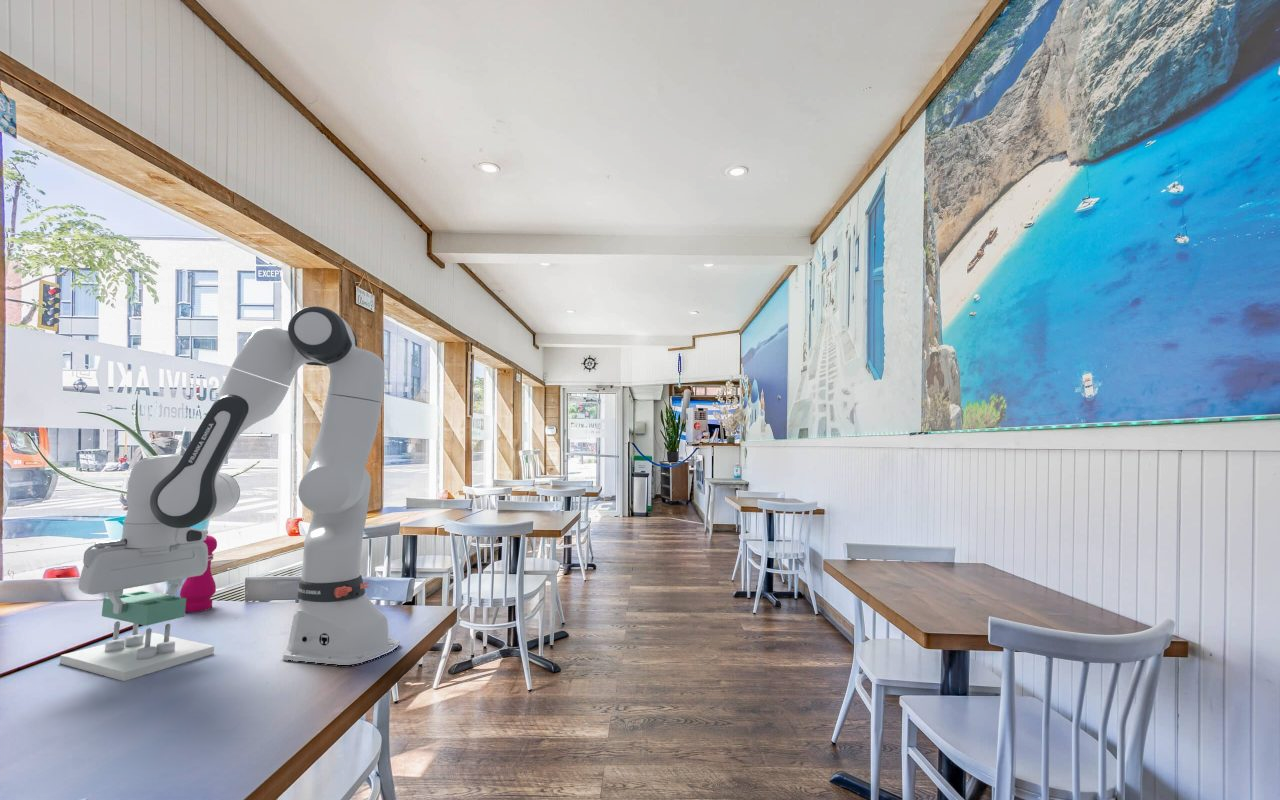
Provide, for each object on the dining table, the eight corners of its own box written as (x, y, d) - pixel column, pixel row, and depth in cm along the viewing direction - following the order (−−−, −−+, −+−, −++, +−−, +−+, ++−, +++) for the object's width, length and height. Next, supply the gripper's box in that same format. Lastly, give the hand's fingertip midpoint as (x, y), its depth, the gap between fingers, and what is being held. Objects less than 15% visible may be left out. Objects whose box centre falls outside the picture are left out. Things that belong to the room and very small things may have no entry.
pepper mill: (194, 614, 140) (202, 531, 141) (170, 611, 141) (178, 530, 143) (221, 606, 147) (228, 528, 149) (198, 604, 148) (205, 526, 150)
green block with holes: (184, 616, 112) (186, 598, 112) (146, 625, 106) (148, 606, 106) (140, 608, 117) (142, 590, 117) (101, 616, 111) (103, 597, 111)
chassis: (213, 653, 114) (216, 618, 114) (123, 681, 100) (128, 641, 100) (151, 639, 121) (154, 606, 122) (59, 663, 107) (64, 626, 108)
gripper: (95, 545, 102) (86, 624, 101) (215, 531, 121) (209, 597, 120) (75, 542, 104) (66, 619, 103) (196, 529, 123) (190, 594, 122)
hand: (144, 607), depth 111 cm, fingers closed on green block with holes, 6 cm apart
